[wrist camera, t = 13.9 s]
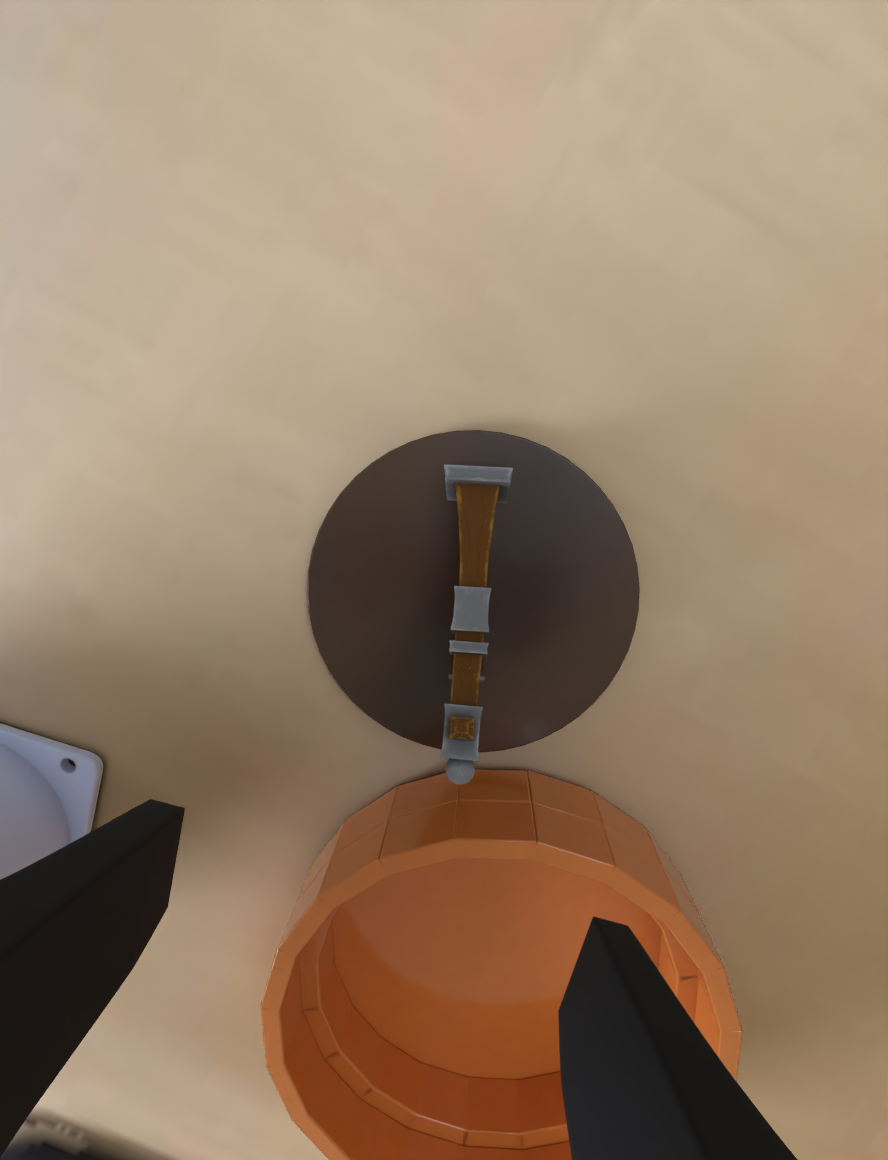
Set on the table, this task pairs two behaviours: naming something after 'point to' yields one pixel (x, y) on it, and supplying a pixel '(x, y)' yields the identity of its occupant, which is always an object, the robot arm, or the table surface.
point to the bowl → (466, 966)
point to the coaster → (515, 575)
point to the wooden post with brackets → (470, 609)
